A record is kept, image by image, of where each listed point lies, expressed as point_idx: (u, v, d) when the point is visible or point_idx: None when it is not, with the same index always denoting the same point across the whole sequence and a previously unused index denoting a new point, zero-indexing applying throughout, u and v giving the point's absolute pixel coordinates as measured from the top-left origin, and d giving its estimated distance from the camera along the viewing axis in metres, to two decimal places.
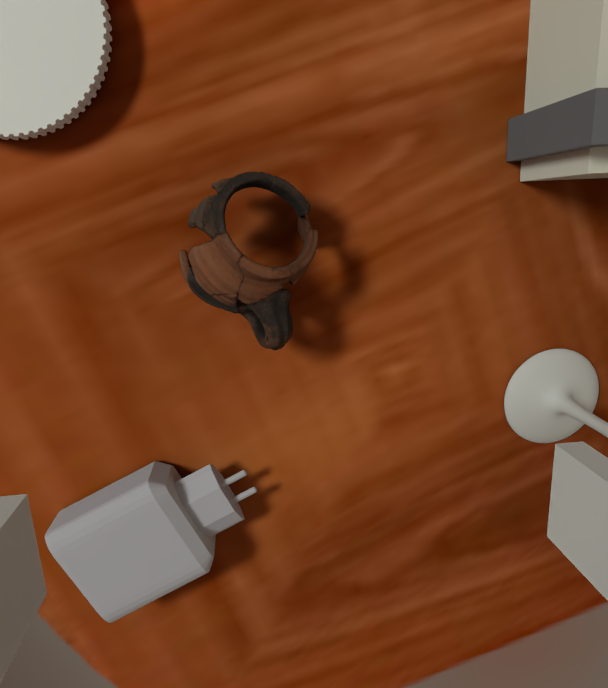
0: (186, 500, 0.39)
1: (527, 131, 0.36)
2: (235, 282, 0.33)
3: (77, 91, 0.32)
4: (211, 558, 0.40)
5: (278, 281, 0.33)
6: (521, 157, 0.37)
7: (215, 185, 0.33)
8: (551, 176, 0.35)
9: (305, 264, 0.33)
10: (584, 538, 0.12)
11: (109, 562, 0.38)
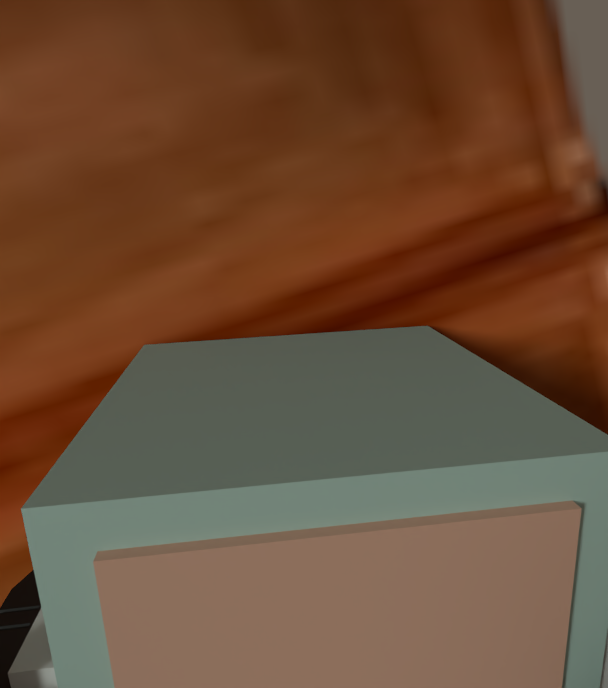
0: None
1: None
2: None
3: None
4: None
5: None
6: None
7: None
8: None
9: None
10: None
11: None
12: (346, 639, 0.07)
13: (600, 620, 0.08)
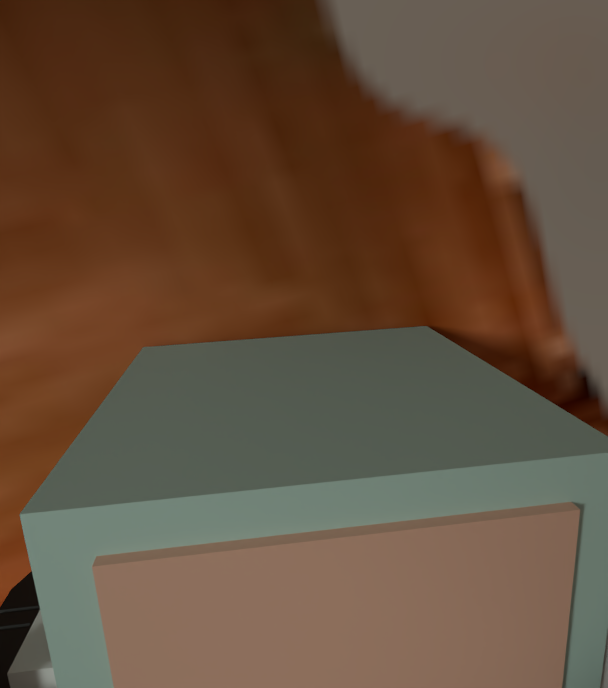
0: None
1: None
2: None
3: None
4: None
5: None
6: None
7: None
8: None
9: None
10: None
11: None
12: (345, 642, 0.07)
13: (600, 621, 0.08)
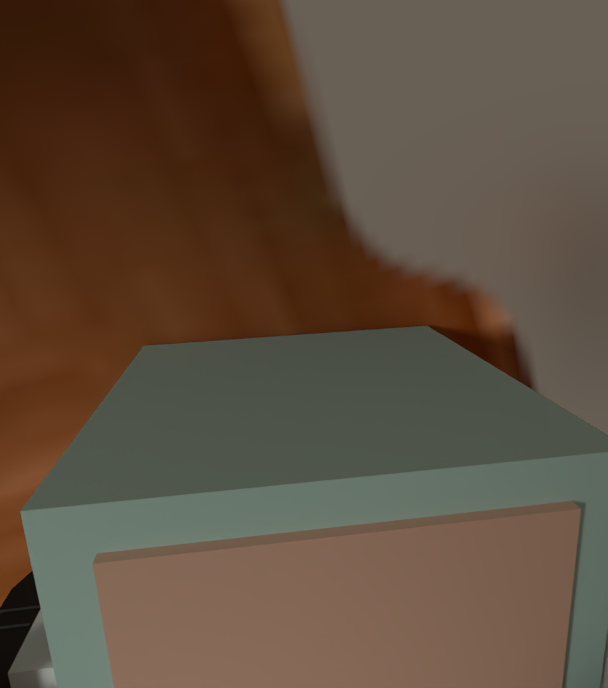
0: None
1: None
2: None
3: None
4: None
5: None
6: None
7: None
8: None
9: None
10: None
11: None
12: (345, 641, 0.07)
13: (600, 620, 0.08)
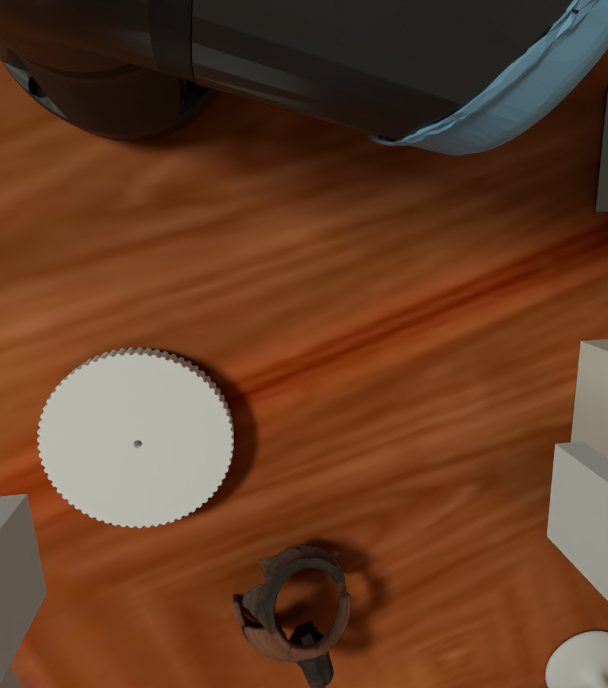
0: None
1: None
2: (285, 657, 0.39)
3: (207, 491, 0.39)
4: None
5: None
6: None
7: (262, 568, 0.40)
8: None
9: (342, 632, 0.40)
10: (583, 538, 0.12)
11: None
12: None
13: None
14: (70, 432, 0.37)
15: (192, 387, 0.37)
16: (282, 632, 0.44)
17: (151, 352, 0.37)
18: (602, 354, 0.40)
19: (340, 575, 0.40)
